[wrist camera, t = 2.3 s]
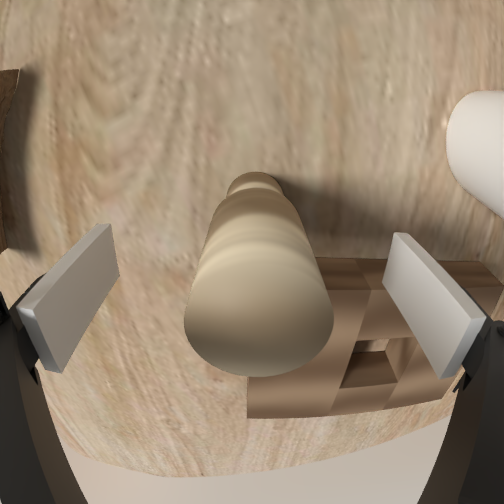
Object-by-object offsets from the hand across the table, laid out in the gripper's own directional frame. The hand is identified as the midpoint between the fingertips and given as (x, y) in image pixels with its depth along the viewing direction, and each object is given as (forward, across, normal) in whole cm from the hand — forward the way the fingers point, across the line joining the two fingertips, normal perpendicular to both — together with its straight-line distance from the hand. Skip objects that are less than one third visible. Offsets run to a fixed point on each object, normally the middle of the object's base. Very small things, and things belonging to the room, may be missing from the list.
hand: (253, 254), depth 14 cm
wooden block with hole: (+7, +10, -11) cm, 16 cm away
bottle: (+7, 0, 0) cm, 7 cm away
